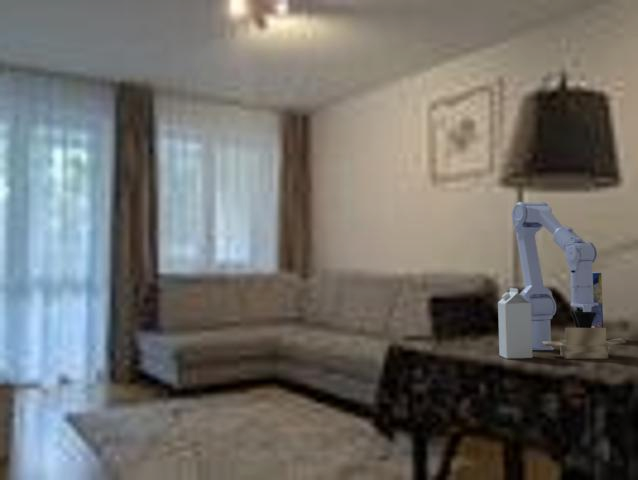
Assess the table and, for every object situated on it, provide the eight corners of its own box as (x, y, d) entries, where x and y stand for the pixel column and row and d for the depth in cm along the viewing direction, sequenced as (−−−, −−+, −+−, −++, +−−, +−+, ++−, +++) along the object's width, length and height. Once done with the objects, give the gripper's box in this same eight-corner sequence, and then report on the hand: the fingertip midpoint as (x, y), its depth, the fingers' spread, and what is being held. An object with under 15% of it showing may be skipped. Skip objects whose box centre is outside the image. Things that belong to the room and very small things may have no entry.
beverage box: (598, 338, 237) (596, 272, 238) (603, 341, 226) (601, 273, 227) (577, 338, 239) (575, 272, 239) (581, 341, 228) (578, 273, 229)
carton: (546, 358, 191) (545, 344, 191) (540, 352, 204) (540, 339, 204) (608, 359, 188) (607, 344, 188) (598, 352, 201) (598, 339, 201)
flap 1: (565, 344, 190) (566, 344, 190) (565, 327, 191) (565, 327, 190) (606, 344, 188) (606, 344, 188) (605, 327, 189) (605, 327, 188)
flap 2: (626, 341, 188) (626, 342, 188) (619, 338, 195) (620, 339, 195) (608, 343, 189) (608, 345, 189) (602, 340, 196) (603, 342, 196)
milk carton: (524, 355, 199) (522, 287, 200) (532, 358, 192) (530, 288, 193) (499, 355, 199) (497, 288, 200) (506, 359, 192) (504, 289, 192)
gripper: (602, 287, 185) (604, 339, 185) (592, 285, 199) (594, 334, 199) (574, 288, 187) (576, 339, 186) (566, 286, 201) (567, 334, 200)
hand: (583, 336), depth 193 cm, fingers open, 4 cm apart
